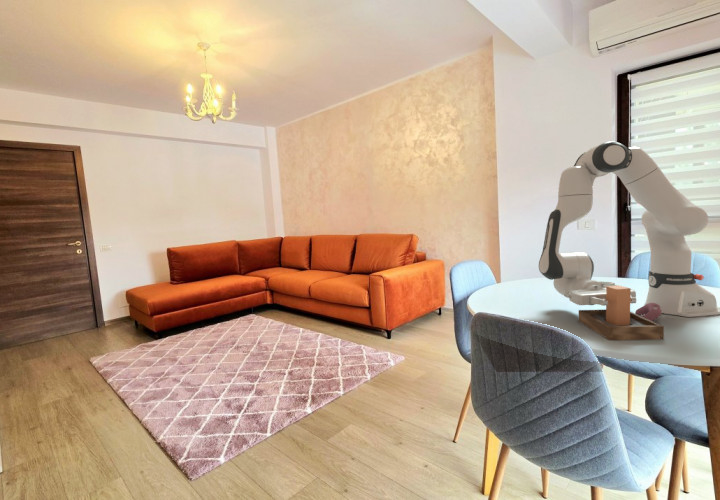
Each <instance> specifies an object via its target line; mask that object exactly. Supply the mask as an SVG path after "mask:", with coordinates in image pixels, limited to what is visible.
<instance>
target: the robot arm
mask: <svg viewBox="0 0 720 500" xmlns="http://www.w3.org/2000/svg"><path fill="white" fill-rule="evenodd" d="M611 173H613V174H614V175H616V176H617V177H618V178H619V179H620V181H621V183H622V184H623V185H624V187H625V189H626V191H628V192H629V194H630V195H631V197H632V198H633V199H634V201H635V202H636V203H637V204H638V205H641V206H642V207H643V208H644V209H645V211H644V212H643V214H642V216H641V224H642V225H643V227H644V228H645V230H646V236H647V240H648V244H649V249H650V264H649V265H650V269H649V271H648V286H649V287H648V292H647V295H646V299H645V302H644V305H643V306H645V305H646V304H647V303H649V302H651V303H656V304H658V305H659V306H660V309H661V310H662V312H661V314H666V315H673V316H674V315H675V316H681V317H686V318H693V317H703V316H704V317H706V316H715V315H720V307H719V306H718V305H717V304H718V302H717V298H716V296H715V295H714V293H712V292H710V291H709V290H707V289H706V288H704V287H702V286H701V285H699V284H698V283H697V281H703V280H704V278H705V277H704V275H703V274H700V273H699V274H698V273H696V274H694V273H693V272H691V271H692V250H691V248H690V247H689V246H688V244H687V241H686V238H685V236H691V235H696V234H698V233H700V232H702V231H703V230H705V228H706V227H707V226H708V223H709V216H708V213H707V211H705V210H704V209H703V208H701V207H699V206H697V205H696V204H694V203H693V202H691V201H690V200H689V199H688V197H686V196H685V195H684V194H683V193H681V192H680V190H678V189H677V188H676V187H675V186H674V185H673V184H672V183H671V182H670V180H668V178H667V177H666V175H665V173H664V172H663V171H662V170H661V168H660V167H659V165H658V164H657V163H656V162H655V161H654V159H653V158H652V157H651V156H650V155H649V154H648V153H647V152H646V151H644V150H643V149H642V148H641V147H637V146H632V147H628V146H626V145H624V144H623V143H620V142H619V141H618V142H617V141H607V142H606V141H605V142H603V143H600V144H598V145H596V146H593V147H591V148H590V149H589V150H587V151H585V152H583V153H582V154H580V155H579V157H578V158H577V159H576V161H575V162H574V165H572V166H570V167H568V168H566V169H564V170H563V171H562V173H561V174H560V179H559V184H558V192H557V193H558V194H557V195H558V198H557V204H556V207H555V209H554V210H553V211H551V212H550V213H549V216H548V220H547V224H546V230H545V233H544V234H545V235H544V242H543V247H542V252H541V255H540V259H539V261H538V269H539V272H540V274H542V276H543V277H545V278H546V279H547V280H550V281H551V280H553V287H554V289H555V290H556V291H557V292H558V293H559V294H560V295H561V296H564V297H565V298H567V299H569V301H570V302H572V303H573V304H575V305H578V306H594V305H595V306H596V305H598V306H599V305H600V306H605V307H606V305H608V300H606V286H620V285H619V284H616V283H615V282H612V281H600V280H599V281H597V280H594V279H592V278H593V275H594V270H595V265H594V264H595V263H594V261H593V259H592V258H591V256H590V255H589V254H587V252H584V251H573V252H571V251H570V252H560V245H561V238H562V234H563V231H564V229H565V228H566V227H567V226H569V225H570V224H572V223H574V222H577V221H579V220H581V219H583V218H584V217H586V216H587V215H589V213H590V212H591V210H592V208H593V200H594V198H593V197H594V195H593V194H594V192H593V191H594V190H593V186H594V182H595V180H596V178H599V177H604V176H606V175H609V174H611ZM636 303H637V292H636V290H635V289H633V288H631V293H630V304H636Z"/></svg>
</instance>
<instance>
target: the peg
mask: <svg viewBox="0 0 720 500" xmlns="http://www.w3.org/2000/svg"><path fill="white" fill-rule="evenodd" d="M631 289H632V288H630V287H628V286H627V287H626V286H623V285H619V286H606V300H608V305H605V310H606V322H608V323H610V324H612V325H630V312H631V303H630V293H631Z"/></svg>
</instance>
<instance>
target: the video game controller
mask: <svg viewBox="0 0 720 500" xmlns="http://www.w3.org/2000/svg"><path fill="white" fill-rule="evenodd" d="M661 312H662V310H661V309H660V306H659V305H658V304H656V303H651V302H649V303H647V304H646V305H645V306H644V305H643V306H641V307H639V308H638V309H636V310H635V312H634V313H635V314H637V315H639V316H642V317H644V318H646V319H648V320H651V321H653V322H654V320H656V319H658V318H659V317H662V315H663V313H661Z"/></svg>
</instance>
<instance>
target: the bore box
mask: <svg viewBox="0 0 720 500" xmlns="http://www.w3.org/2000/svg"><path fill="white" fill-rule="evenodd" d="M642 316H643V315H637V314H635V312H633V311H630V325H612V324H610V323H608V322H606V309H578V322H579V323H581V324H583V326H586V327H587V328H588V329H590V330H592V331H594V332H595V333H597V334H598V335H600V336H601V337H603V338H605V339H607V340H608V341H634V340H635V341H637V340H638V341H640V340H641V341H645V340H649V341H650V340H653V341H654V340H657V341H658V340H664V336H665V335H664V333H665V326H664V325H662V324H659V323H658V322H655V321H654V320H653V321H651V320H648V319H646V318H644V317H642Z"/></svg>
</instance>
